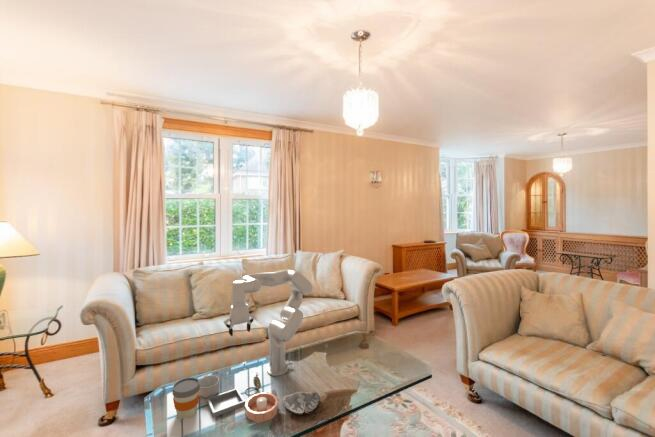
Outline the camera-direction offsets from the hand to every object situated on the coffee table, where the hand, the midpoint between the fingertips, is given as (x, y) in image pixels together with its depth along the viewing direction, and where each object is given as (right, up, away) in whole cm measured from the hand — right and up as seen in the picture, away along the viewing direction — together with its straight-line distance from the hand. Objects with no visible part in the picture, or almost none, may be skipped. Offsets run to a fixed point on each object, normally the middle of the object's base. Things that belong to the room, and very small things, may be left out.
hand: (239, 332), depth 177 cm
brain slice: (+36, -35, -11) cm, 51 cm away
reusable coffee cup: (-22, -34, -18) cm, 44 cm away
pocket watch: (+8, -33, 0) cm, 34 cm away
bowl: (+15, -34, -15) cm, 40 cm away
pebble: (+15, -33, -15) cm, 40 cm away
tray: (-4, -33, -11) cm, 36 cm away
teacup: (-17, -33, -2) cm, 37 cm away
